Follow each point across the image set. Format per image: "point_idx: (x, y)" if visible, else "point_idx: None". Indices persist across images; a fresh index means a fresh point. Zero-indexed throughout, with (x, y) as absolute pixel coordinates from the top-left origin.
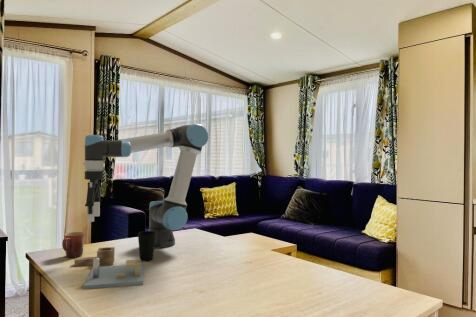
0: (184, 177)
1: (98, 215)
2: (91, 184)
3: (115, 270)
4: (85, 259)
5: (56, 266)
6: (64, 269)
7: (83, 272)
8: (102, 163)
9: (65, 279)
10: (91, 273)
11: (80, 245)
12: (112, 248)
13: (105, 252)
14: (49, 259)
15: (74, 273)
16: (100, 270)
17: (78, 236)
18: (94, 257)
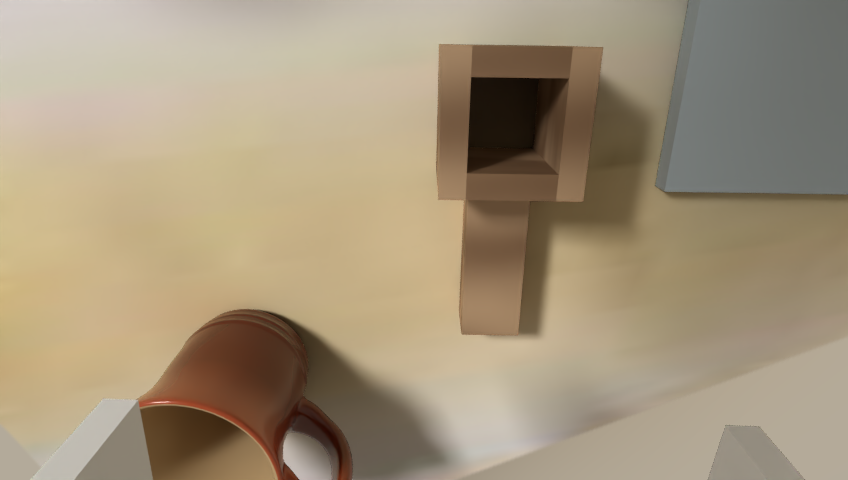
0: None
1: (130, 427)
2: None
3: (834, 3)
4: (523, 267)
5: (487, 408)
6: (569, 357)
7: (682, 239)
8: None
9: (783, 318)
10: (821, 181)
11: (259, 362)
12: (502, 62)
13: (588, 123)
14: (319, 469)
15: (681, 289)
16: (776, 126)
17: (262, 433)
18: (484, 209)
